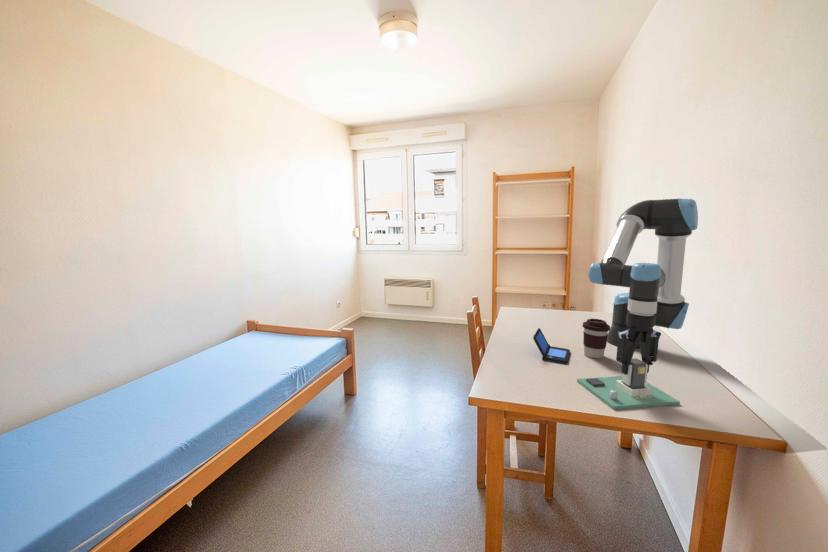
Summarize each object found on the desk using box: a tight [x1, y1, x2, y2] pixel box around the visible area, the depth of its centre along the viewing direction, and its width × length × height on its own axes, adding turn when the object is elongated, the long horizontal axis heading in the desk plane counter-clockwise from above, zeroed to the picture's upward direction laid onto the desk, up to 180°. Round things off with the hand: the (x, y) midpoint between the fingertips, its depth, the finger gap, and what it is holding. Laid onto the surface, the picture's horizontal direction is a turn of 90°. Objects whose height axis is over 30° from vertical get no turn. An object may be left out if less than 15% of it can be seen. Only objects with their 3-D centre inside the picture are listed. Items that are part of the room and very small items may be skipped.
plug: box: [623, 357, 647, 389], centre depth 108 cm, size 4×5×10 cm
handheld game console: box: [532, 327, 571, 365], centre depth 141 cm, size 16×13×9 cm
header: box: [615, 380, 652, 397], centre depth 109 cm, size 7×8×2 cm
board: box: [576, 375, 681, 410], centre depth 110 cm, size 22×18×3 cm
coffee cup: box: [582, 318, 611, 359], centre depth 140 cm, size 10×10×15 cm
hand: (633, 382), depth 109 cm, fingers open, 5 cm apart
